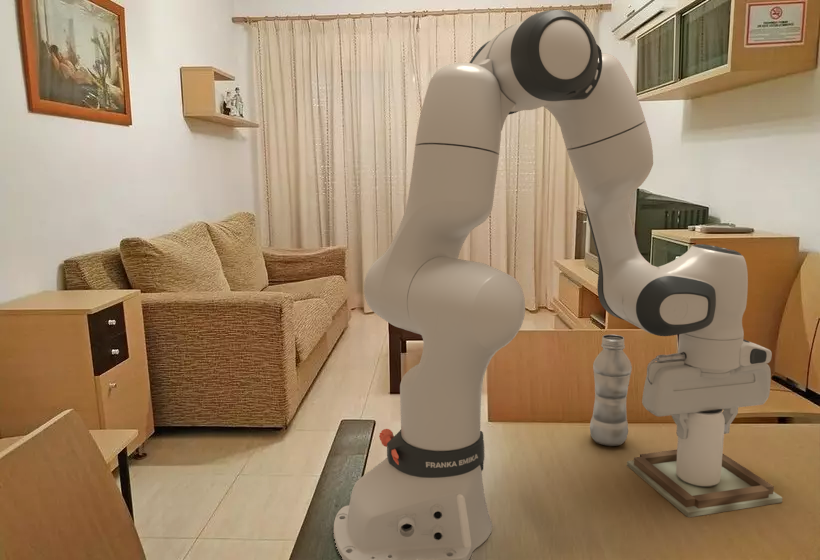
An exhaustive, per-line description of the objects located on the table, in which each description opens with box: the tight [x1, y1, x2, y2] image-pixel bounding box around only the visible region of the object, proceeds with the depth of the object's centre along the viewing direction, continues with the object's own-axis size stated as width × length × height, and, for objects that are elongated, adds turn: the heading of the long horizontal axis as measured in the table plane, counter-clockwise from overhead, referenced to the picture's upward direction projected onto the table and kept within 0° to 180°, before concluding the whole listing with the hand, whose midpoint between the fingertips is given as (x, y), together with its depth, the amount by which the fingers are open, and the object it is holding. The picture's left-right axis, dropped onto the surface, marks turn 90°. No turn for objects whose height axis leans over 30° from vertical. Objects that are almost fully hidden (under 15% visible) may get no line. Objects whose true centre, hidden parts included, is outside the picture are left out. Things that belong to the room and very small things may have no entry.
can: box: [676, 409, 725, 487], centre depth 98 cm, size 6×6×12 cm
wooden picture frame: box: [626, 449, 783, 518], centre depth 99 cm, size 16×16×2 cm
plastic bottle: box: [589, 334, 633, 447], centre depth 112 cm, size 6×7×20 cm
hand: (702, 434), depth 98 cm, fingers closed on can, 5 cm apart
